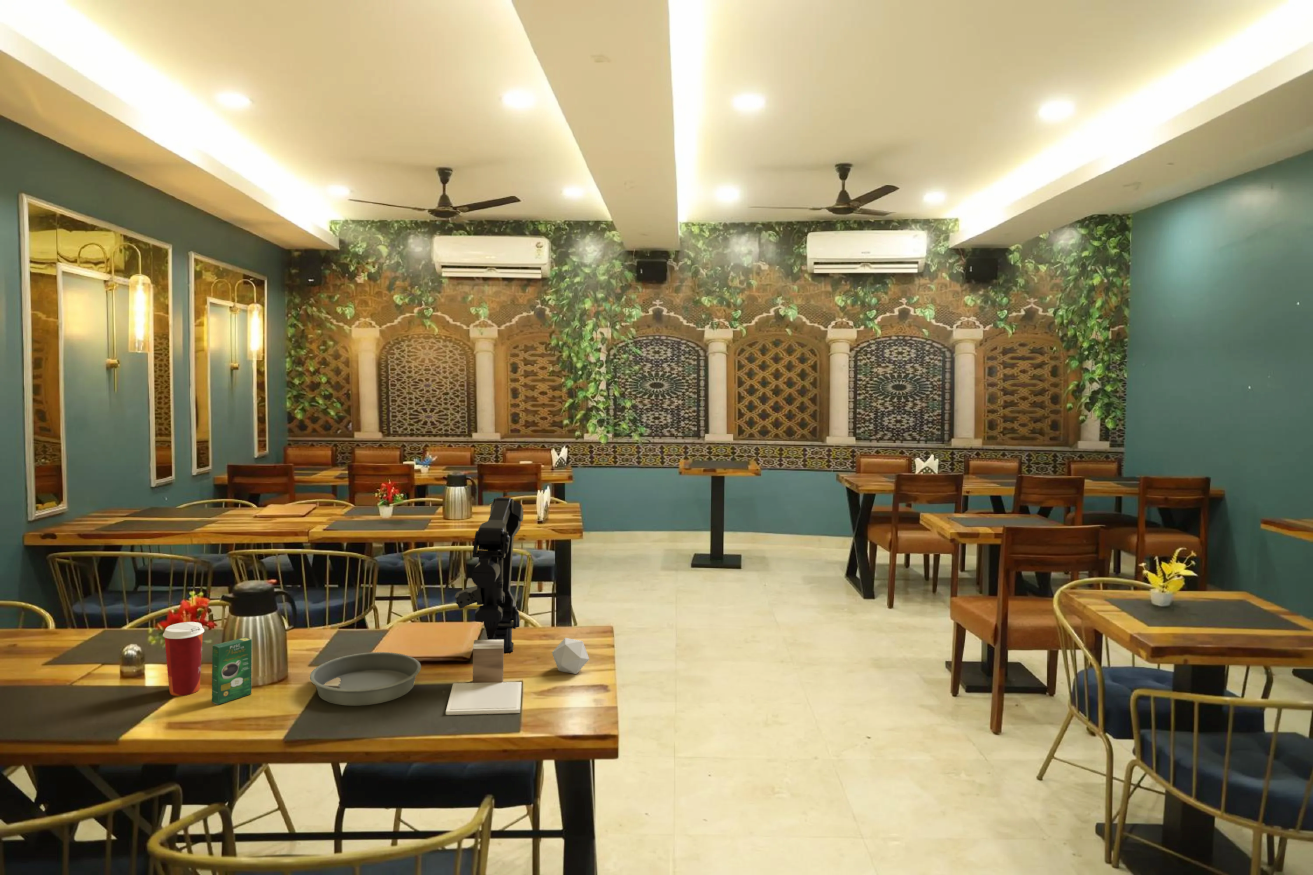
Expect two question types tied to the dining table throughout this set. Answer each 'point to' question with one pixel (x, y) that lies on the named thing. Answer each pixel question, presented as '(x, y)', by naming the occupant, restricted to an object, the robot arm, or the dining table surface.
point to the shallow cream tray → (484, 698)
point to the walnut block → (488, 661)
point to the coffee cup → (184, 657)
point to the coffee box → (231, 670)
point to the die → (570, 655)
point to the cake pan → (366, 678)
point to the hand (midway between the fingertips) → (490, 639)
